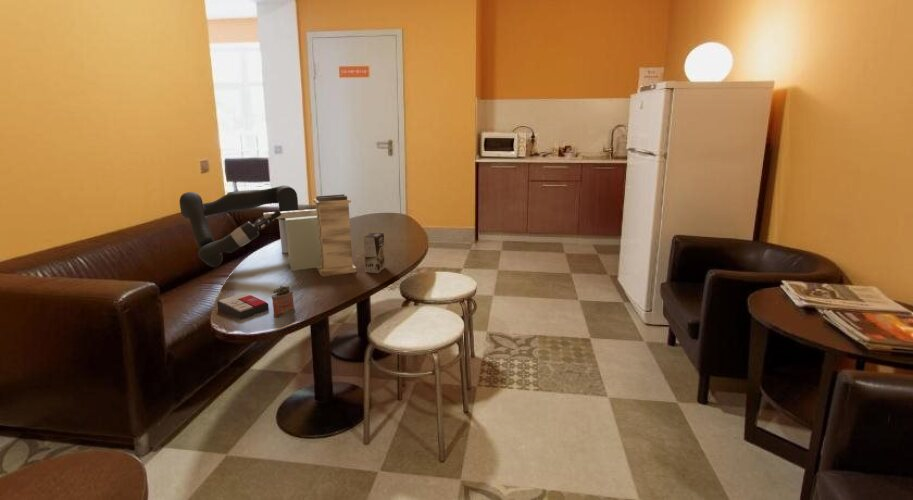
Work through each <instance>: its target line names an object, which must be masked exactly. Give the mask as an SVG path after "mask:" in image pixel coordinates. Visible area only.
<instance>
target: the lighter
mask: <svg viewBox="0 0 913 500" xmlns="http://www.w3.org/2000/svg"><path fill="white" fill-rule="evenodd" d="M272 292H273V294H272V295H271V300H272V308H273V315H272V316H273V318H274V319H275V318H276V319H279V318H282V317H285V316H287V315H290V314H292V313H294V312H295V310H296V308H295V304H294V295H293V294H294V291H293V289H290V285H288V284H287V285H285V286H284V285H280V287H277V288H273V290H272Z"/></svg>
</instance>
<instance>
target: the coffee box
mask: <svg viewBox="0 0 913 500" xmlns="http://www.w3.org/2000/svg"><path fill="white" fill-rule="evenodd" d="M363 248H364V249H363V250H364V267H365V273H368V274H369V273H373V274H379V273H380V272H381V271H383V270H384V269H385V268H386V255H385V254H386V253H385V252H386V251H385V234H384V233H383V232H370V233H369V234H367V235H365V236H363Z"/></svg>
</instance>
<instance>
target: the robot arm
mask: <svg viewBox="0 0 913 500" xmlns="http://www.w3.org/2000/svg"><path fill="white" fill-rule="evenodd" d="M297 193H298V192H297V191H296V190H295V188H293V187H291V186H288V185H280V186H274V187H271V188H265V189H247V190H236V191H231V192H228V193H227V194H225V195H223V196H221V197H220V198H218V199H216V200H214V201H210V202H203V199H202V197H201V195H199V194H198V193H197V192H194V191H187V192H185V193H183V194H182V195H181V196H180V198H179V209H180V213H181V216H182V217H184V218H185V219H188V220H189V222H190V226H191V231H192V234H193V237H194V240H195V243H196V245H197V247H198V248H199V250H198V253H197V255H198V257H199V259H200V260H201V261H202V262H203V263H205V264H206V265H208V266H209V267H211V268H216V267H219V266H220V265H221V264H222V263H223V260H224V258H223V253H224V252H225V253H228V254H231V253H234V252H235V251H236V250H238V249H240V248H242V247H243V246H245V245H248V244H249V243H250V242H251V241H253V240H254V239H256V238H258V237H259V236H260V233H259V231H260V230H262V231H263V230H265V229H266V228H267V227H268V226H270V225H271V224H272V223H274V221H275V220H276V218H277V217H279V216H280V215H281V213H280V212H282V211H296V210H299V201H298V194H297ZM271 204H278V209H275V210H274V211H273V212H275V213H273V214H272V215H270V216H268V217H267V218H266V217H265V218H264V215H263V216H261V217H259V218H257V219H256V220H255V221H254V223H252V222H251V221H246V222H245V223H243V224H242V225H240V226H239V227H237V228H235V229H234V230H233V231H232V232H230V233H229V234H227V235H226V236H224V237H222V238H221V239H218V240H215V239H214V236H213V234H212V231H211V228H210V225H209V224H208V221H207V219H206V217H209V216H213V215H219V214H223V213H224V214H225V213H231V212H232V213H233V212H240V211H247V210H248V211H249V210H252V209H255V208H259V207H260V206H264V205H271ZM293 218H295V217H293ZM278 225H279V235H280V245H281V246H280V247H281V253H284V254H288V245H287V235H286V225H285V218H280V219H278Z"/></svg>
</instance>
